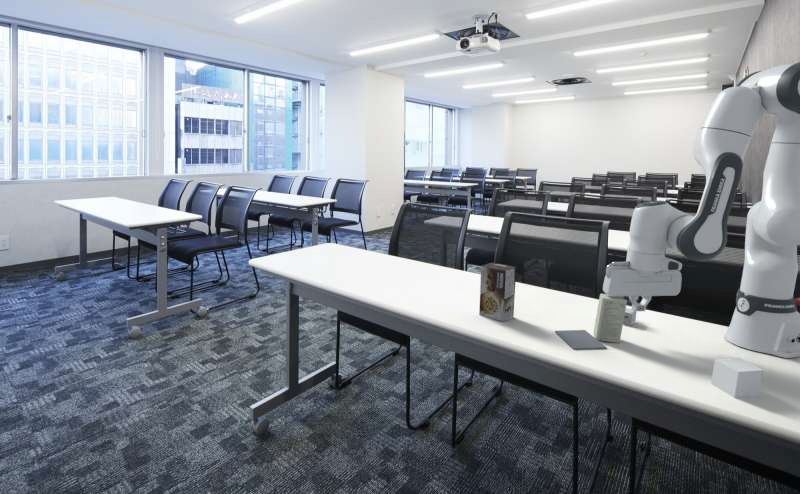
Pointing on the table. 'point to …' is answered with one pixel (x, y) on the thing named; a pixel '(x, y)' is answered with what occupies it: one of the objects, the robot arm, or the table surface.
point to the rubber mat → (580, 339)
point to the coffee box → (497, 291)
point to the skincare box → (610, 318)
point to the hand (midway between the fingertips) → (638, 310)
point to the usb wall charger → (629, 317)
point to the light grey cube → (737, 377)
